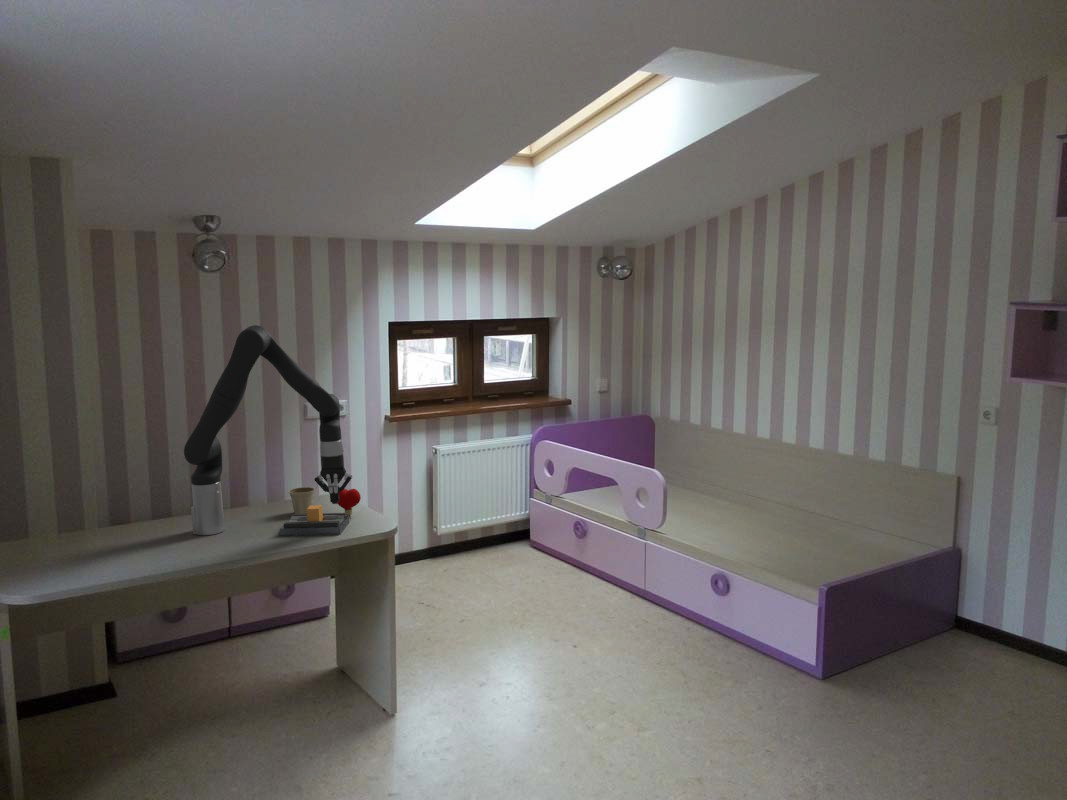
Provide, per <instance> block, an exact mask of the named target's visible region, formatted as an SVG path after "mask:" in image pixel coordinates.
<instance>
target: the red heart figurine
mask: <svg viewBox="0 0 1067 800" xmlns="http://www.w3.org/2000/svg"><path fill="white" fill-rule="evenodd" d="M339 498H340V500H339V502H338V503H337V504H336V505H338V506H339V507H340V508H342V509H344V513H345V515H346V516H348V515H349V517H351V516H352V515H353V508H354V507H355V506H357V505H359V503H360V501H361V499H362V496H361V493H360V491H359V490H357V489H356V488H350V489H346V488H344V490H343V491H340V492H339Z"/></svg>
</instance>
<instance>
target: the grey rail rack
mask: <svg viewBox="0 0 1067 800" xmlns="http://www.w3.org/2000/svg"><path fill="white" fill-rule="evenodd" d="M322 514H323V515H344V518H345V517H346V516H347V515H345V512H329V513H328V512H322ZM291 516H307V514H295V513H293V514H291ZM283 525H284V528H289V527H329V526H338V525H339V521H331V522H291V523H286V522H284V523H283Z"/></svg>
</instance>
